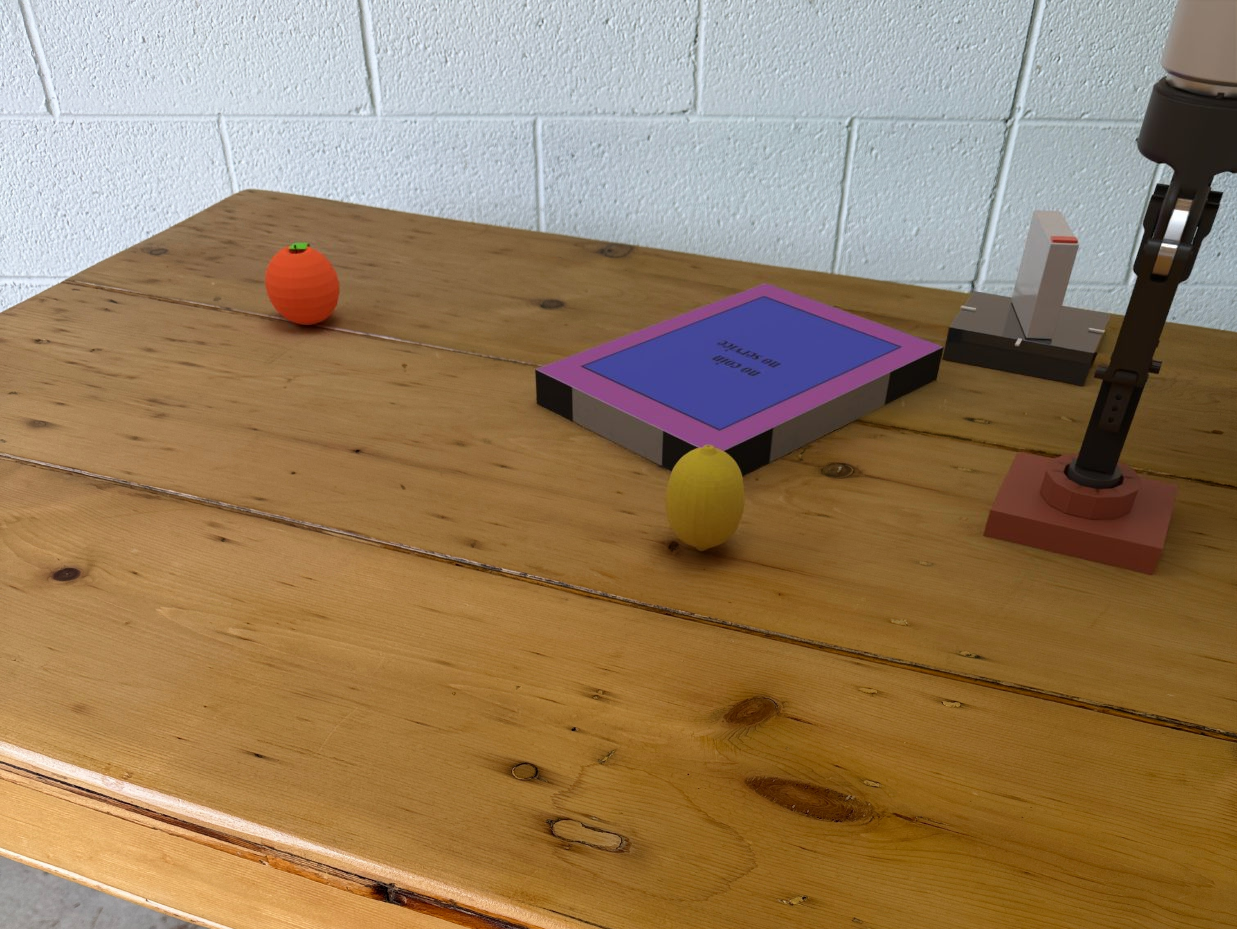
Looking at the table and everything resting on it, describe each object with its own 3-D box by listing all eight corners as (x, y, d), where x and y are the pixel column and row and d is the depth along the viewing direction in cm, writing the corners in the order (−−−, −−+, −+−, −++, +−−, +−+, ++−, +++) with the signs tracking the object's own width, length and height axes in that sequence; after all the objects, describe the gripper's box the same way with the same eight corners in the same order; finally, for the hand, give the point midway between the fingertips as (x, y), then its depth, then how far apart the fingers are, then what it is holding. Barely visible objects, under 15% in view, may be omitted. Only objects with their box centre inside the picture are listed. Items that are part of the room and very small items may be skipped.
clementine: (286, 304, 112) (271, 228, 107) (354, 305, 112) (342, 229, 107) (265, 335, 107) (248, 257, 102) (336, 337, 107) (323, 258, 102)
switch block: (1168, 511, 85) (1187, 462, 82) (1152, 575, 78) (1172, 525, 76) (1010, 477, 88) (1024, 429, 86) (982, 536, 82) (996, 486, 79)
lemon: (746, 536, 82) (756, 433, 76) (731, 576, 78) (740, 470, 72) (673, 525, 83) (678, 422, 77) (655, 564, 79) (658, 459, 73)
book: (943, 346, 99) (714, 455, 84) (936, 379, 101) (711, 491, 86) (766, 282, 110) (535, 369, 95) (763, 314, 112) (536, 403, 97)
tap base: (1104, 340, 108) (1115, 306, 105) (1082, 393, 99) (1093, 357, 97) (969, 316, 112) (976, 283, 109) (936, 365, 103) (944, 331, 101)
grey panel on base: (1010, 300, 107) (1034, 206, 101) (1036, 302, 106) (1061, 207, 101) (1025, 338, 100) (1051, 240, 94) (1052, 339, 100) (1080, 241, 94)
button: (1117, 484, 82) (1125, 462, 81) (1110, 506, 80) (1118, 484, 79) (1067, 474, 83) (1074, 452, 82) (1059, 495, 81) (1066, 473, 80)
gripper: (1292, 115, 58) (1137, 519, 75) (1301, 64, 66) (1160, 438, 83) (1142, 98, 60) (1025, 494, 77) (1170, 51, 69) (1058, 418, 85)
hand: (1095, 465), depth 80 cm, fingers closed
